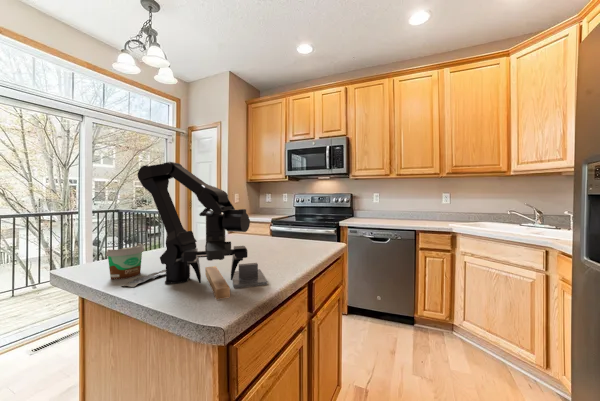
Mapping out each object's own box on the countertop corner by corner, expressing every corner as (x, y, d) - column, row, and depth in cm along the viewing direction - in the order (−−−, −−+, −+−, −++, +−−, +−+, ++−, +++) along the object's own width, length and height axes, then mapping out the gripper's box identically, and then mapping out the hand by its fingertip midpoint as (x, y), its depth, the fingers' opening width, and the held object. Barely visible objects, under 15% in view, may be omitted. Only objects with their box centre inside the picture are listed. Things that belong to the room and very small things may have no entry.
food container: (120, 282, 82) (120, 251, 82) (106, 280, 84) (105, 249, 84) (152, 271, 94) (152, 244, 94) (139, 270, 96) (139, 243, 96)
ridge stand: (233, 288, 77) (233, 271, 77) (231, 274, 90) (231, 260, 90) (267, 284, 80) (267, 268, 80) (260, 272, 93) (260, 258, 93)
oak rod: (216, 300, 69) (216, 289, 69) (205, 275, 90) (205, 267, 90) (229, 298, 70) (229, 287, 70) (215, 274, 92) (215, 266, 92)
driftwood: (130, 290, 77) (130, 283, 77) (114, 287, 79) (114, 281, 79) (184, 272, 96) (184, 266, 96) (169, 270, 98) (169, 264, 98)
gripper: (178, 236, 69) (179, 294, 70) (249, 233, 75) (249, 286, 75) (183, 230, 80) (184, 281, 80) (245, 228, 86) (245, 275, 86)
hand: (216, 281), depth 80 cm, fingers open, 9 cm apart
